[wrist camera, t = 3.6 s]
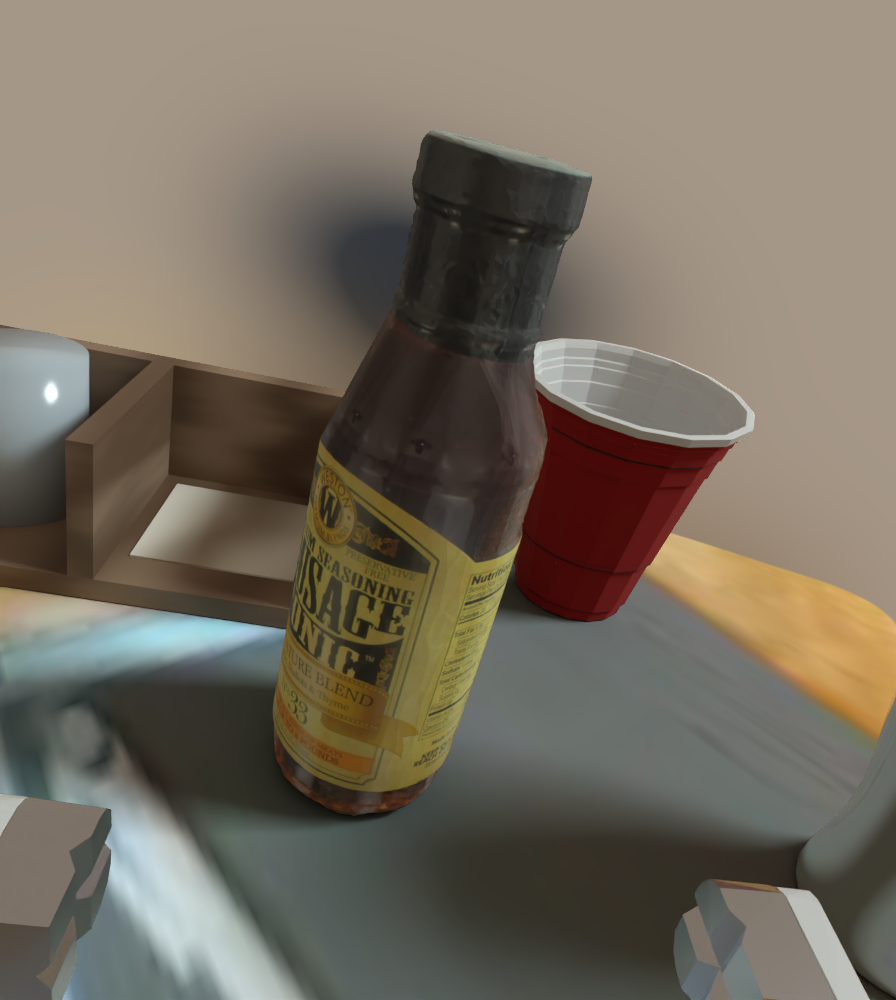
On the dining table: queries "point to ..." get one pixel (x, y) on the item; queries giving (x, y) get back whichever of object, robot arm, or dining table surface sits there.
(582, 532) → the plastic cup
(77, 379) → the grey rounded cylinder
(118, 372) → the walnut rail
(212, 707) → the dining table surface
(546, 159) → the sauce bottle
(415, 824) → the dining table surface
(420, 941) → the dining table surface
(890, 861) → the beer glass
